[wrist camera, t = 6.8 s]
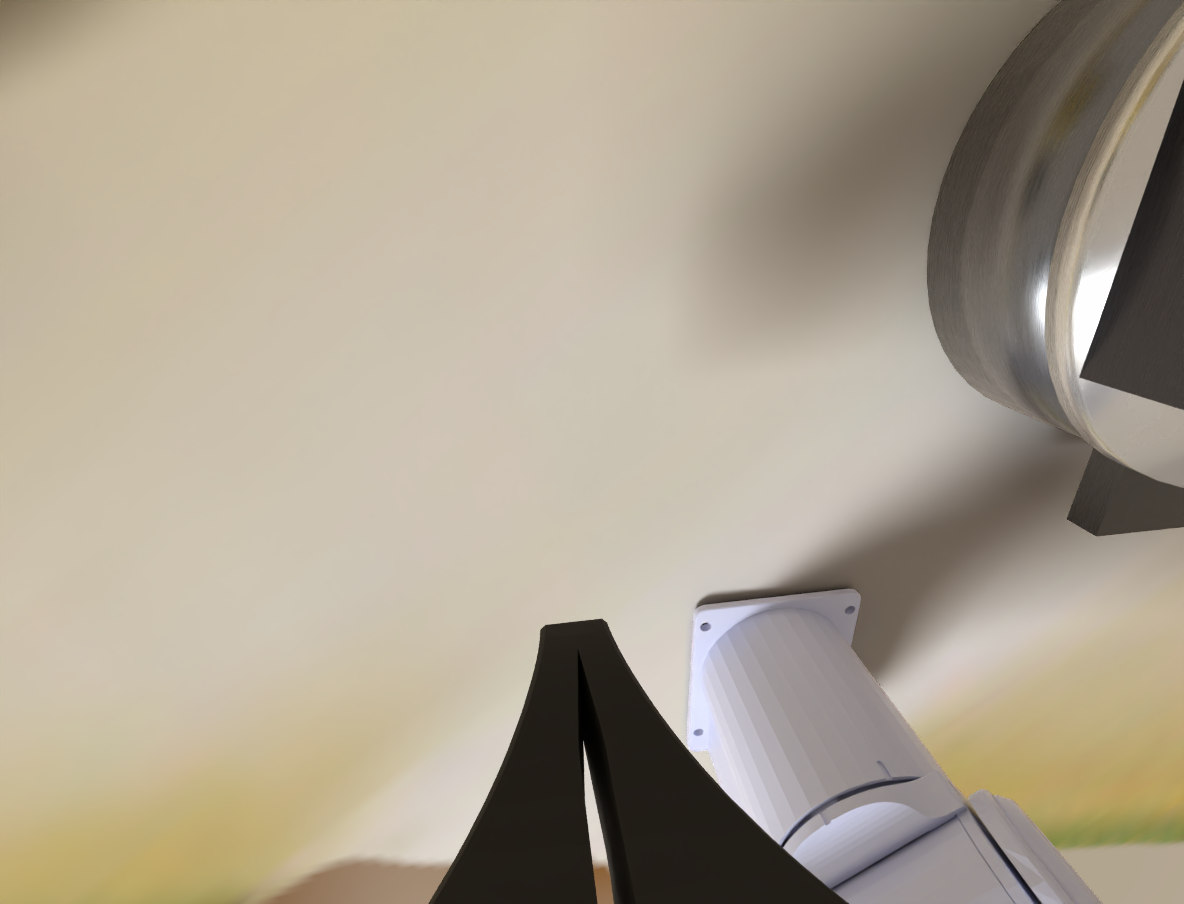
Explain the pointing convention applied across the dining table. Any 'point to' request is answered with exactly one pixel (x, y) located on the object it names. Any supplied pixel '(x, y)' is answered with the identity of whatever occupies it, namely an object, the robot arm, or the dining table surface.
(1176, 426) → the cooker lid
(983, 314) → the cooker pot
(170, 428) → the dining table surface
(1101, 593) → the dining table surface
